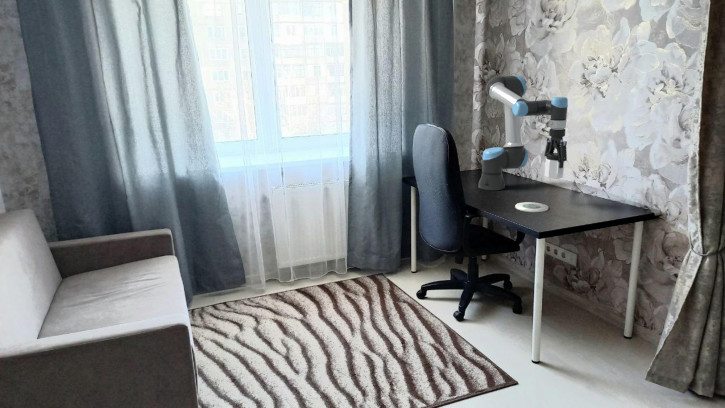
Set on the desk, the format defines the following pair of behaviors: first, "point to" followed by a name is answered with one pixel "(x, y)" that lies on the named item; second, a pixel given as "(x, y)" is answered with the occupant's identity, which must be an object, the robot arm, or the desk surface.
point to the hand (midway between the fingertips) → (554, 172)
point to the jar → (552, 166)
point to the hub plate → (531, 207)
